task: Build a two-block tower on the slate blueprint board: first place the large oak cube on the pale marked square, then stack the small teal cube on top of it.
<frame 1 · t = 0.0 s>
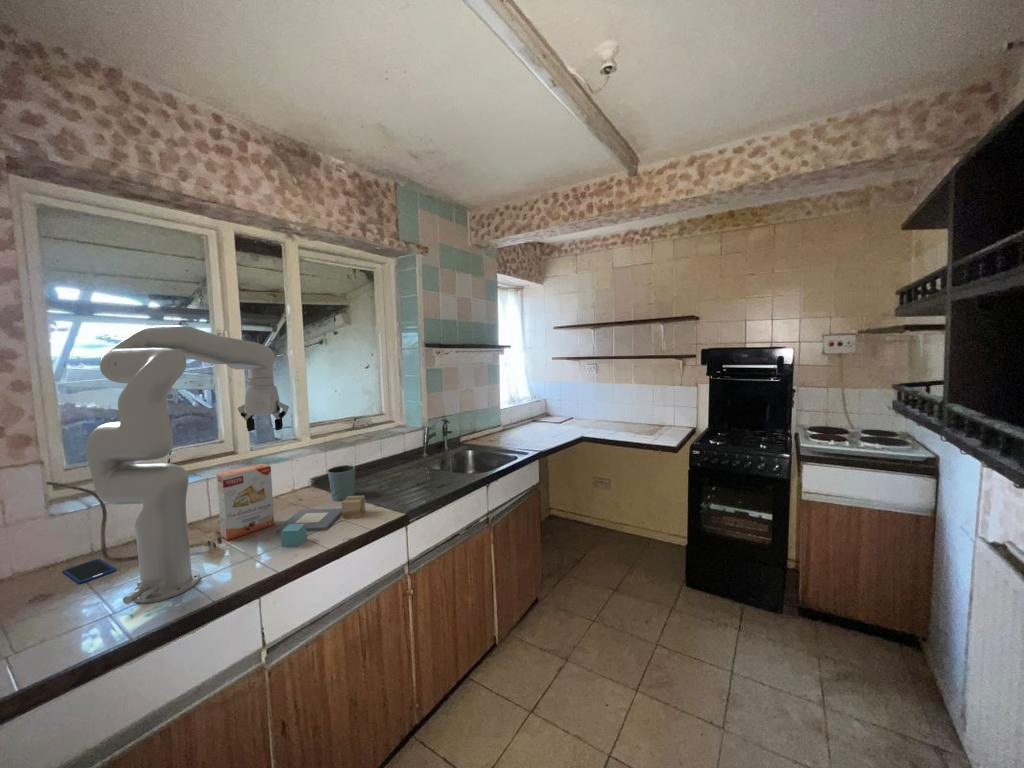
hand: (265, 430, 141), 31 cm above the worktop, tool pointing down, fingers open, 9 cm apart
cracker box: (248, 531, 130), on the worktop
blue cup: (343, 498, 159), on the worktop
cell phone: (89, 573, 107), on the worktop
blueprint board: (312, 520, 137), on the worktop
oak cube: (354, 515, 141), on the worktop
teal cube: (294, 543, 121), on the worktop
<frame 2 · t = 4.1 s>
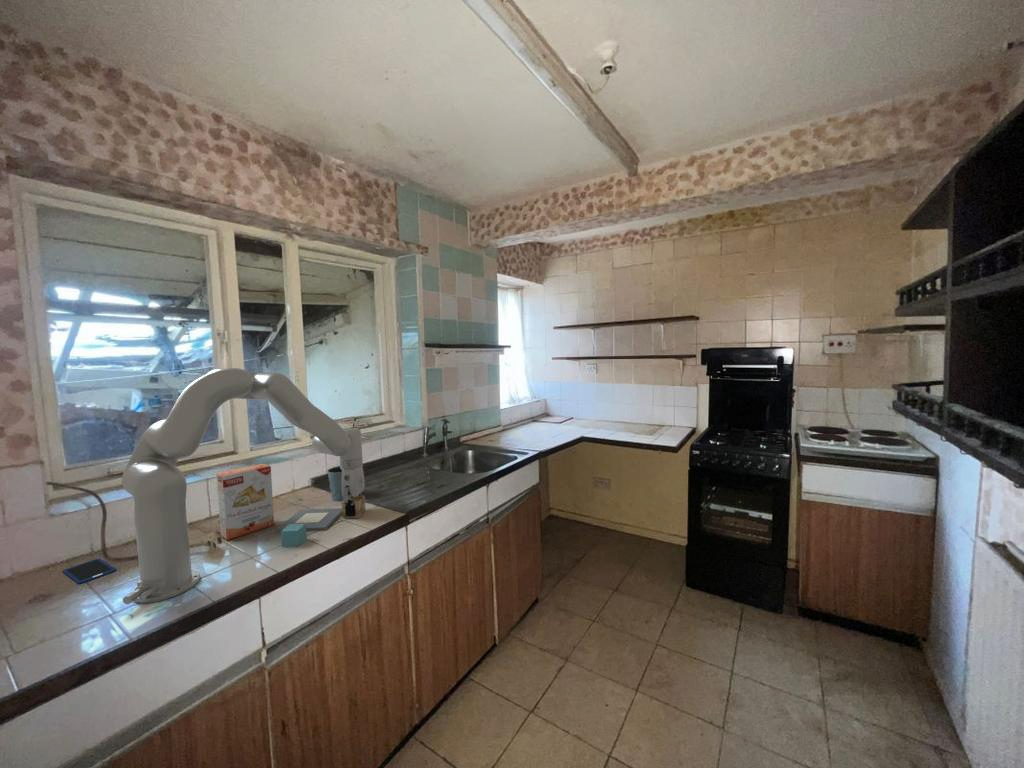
hand: (354, 511, 141), 1 cm above the worktop, tool pointing down, fingers closed on oak cube, 6 cm apart
oak cube: (354, 514, 141), on the worktop, touching gripper
everything else where it was.
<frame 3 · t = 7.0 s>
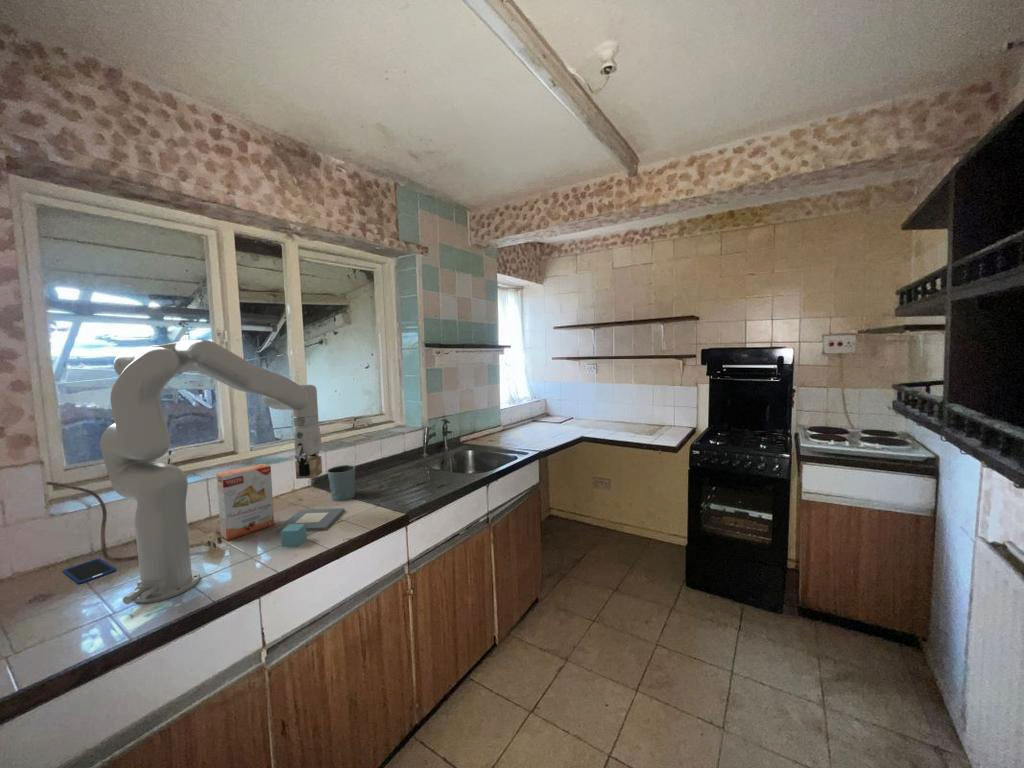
hand: (309, 472, 135), 17 cm above the worktop, tool pointing down, fingers closed on oak cube, 6 cm apart
oak cube: (309, 475, 135), point 16 cm above the worktop, touching gripper
everything else where it was.
when the fingers open (4 cm above the worktop, at t = 10.0 s): oak cube drops 1 cm, resting on blueprint board.
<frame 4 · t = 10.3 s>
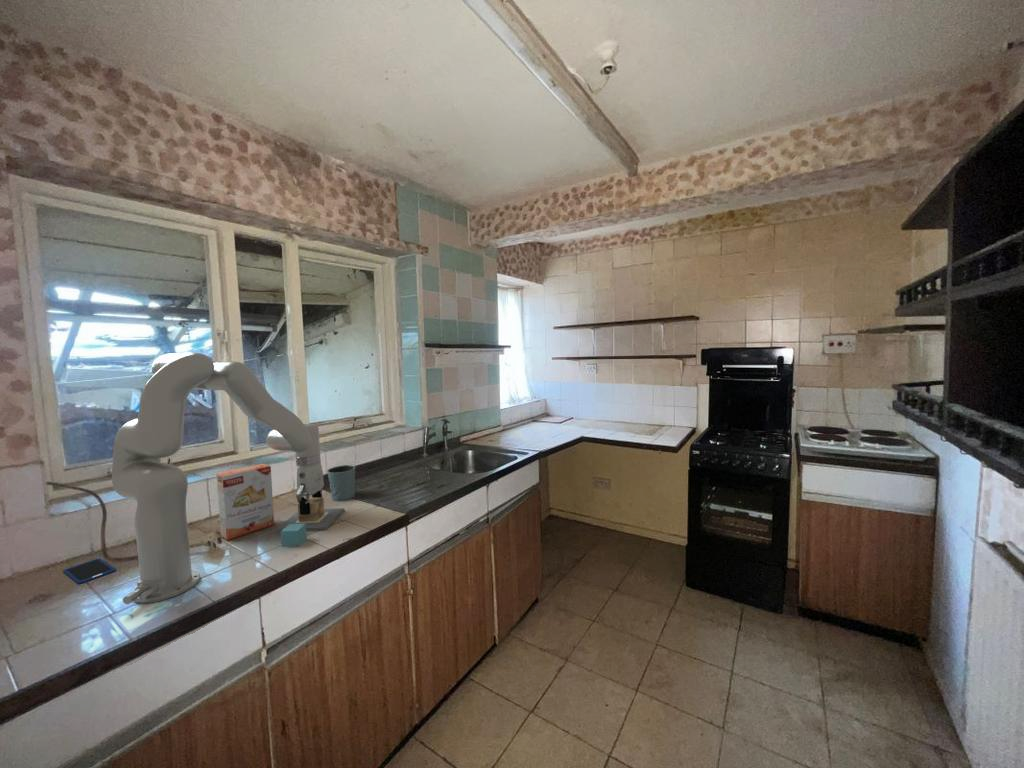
hand: (311, 508, 136), 4 cm above the worktop, tool pointing down, fingers open, 8 cm apart
oak cube: (312, 517, 137), point 1 cm above the worktop, touching blueprint board
everything else where it was.
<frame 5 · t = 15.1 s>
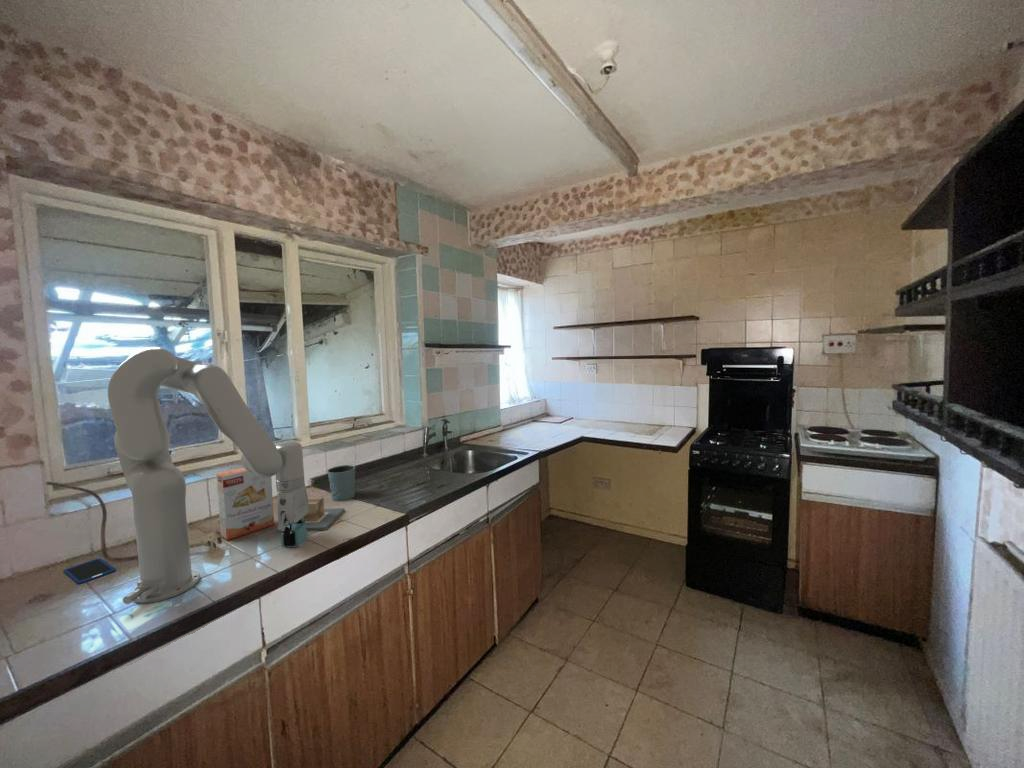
hand: (294, 540, 121), 1 cm above the worktop, tool pointing down, fingers closed on teal cube, 5 cm apart
teal cube: (294, 542, 121), on the worktop, touching gripper
everything else where it was.
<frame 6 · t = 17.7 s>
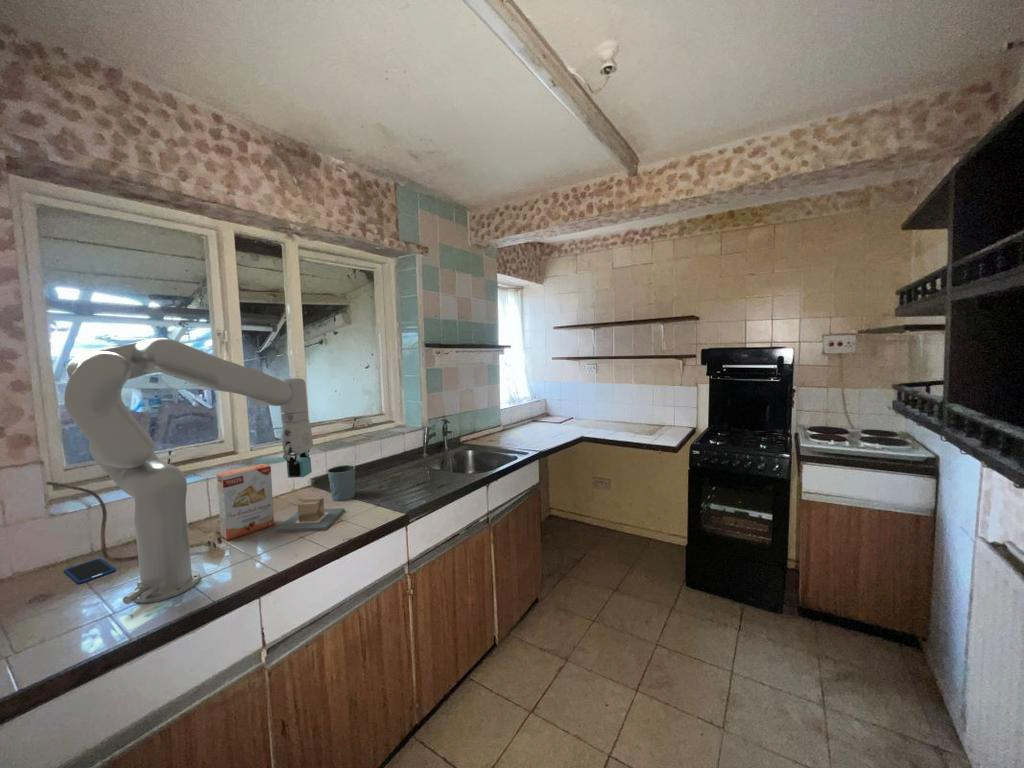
hand: (299, 472, 126), 20 cm above the worktop, tool pointing down, fingers closed on teal cube, 4 cm apart
teal cube: (300, 474, 126), point 19 cm above the worktop, touching gripper
everything else where it was.
when the fingers open (9 cm above the worktop, at t = 20.6 s): teal cube drops 1 cm, resting on oak cube.
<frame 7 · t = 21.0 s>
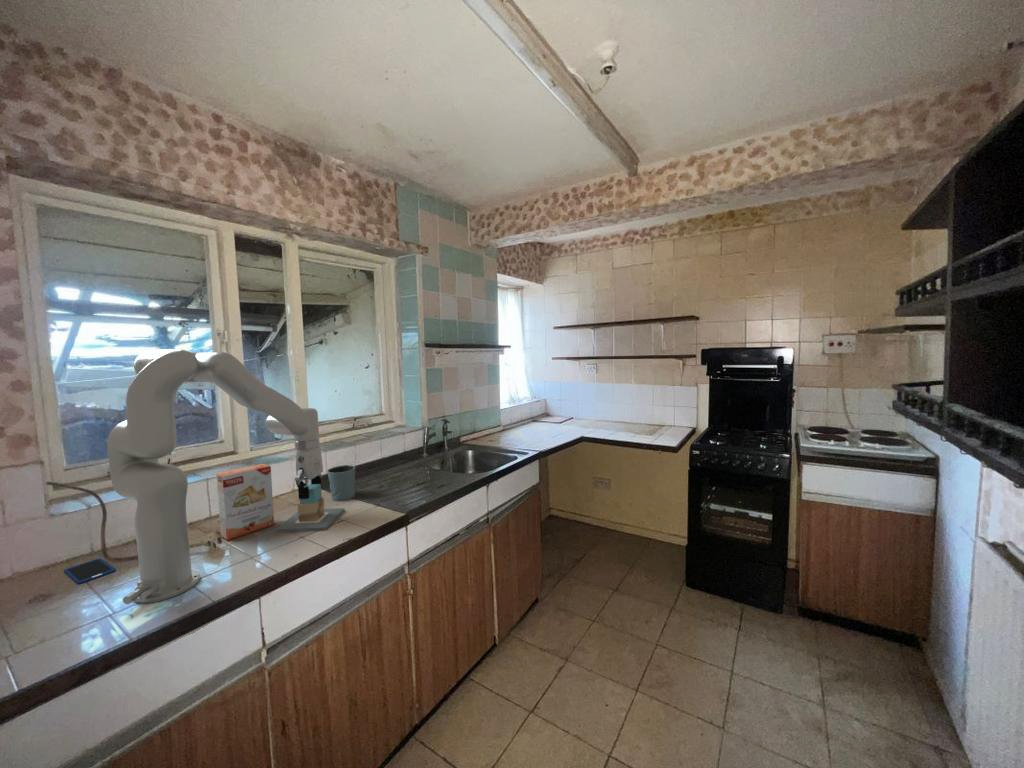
hand: (310, 493, 136), 10 cm above the worktop, tool pointing down, fingers open, 8 cm apart
oak cube: (312, 517, 137), point 1 cm above the worktop, touching blueprint board, teal cube
teal cube: (311, 500, 136), point 7 cm above the worktop, touching oak cube
everything else where it was.
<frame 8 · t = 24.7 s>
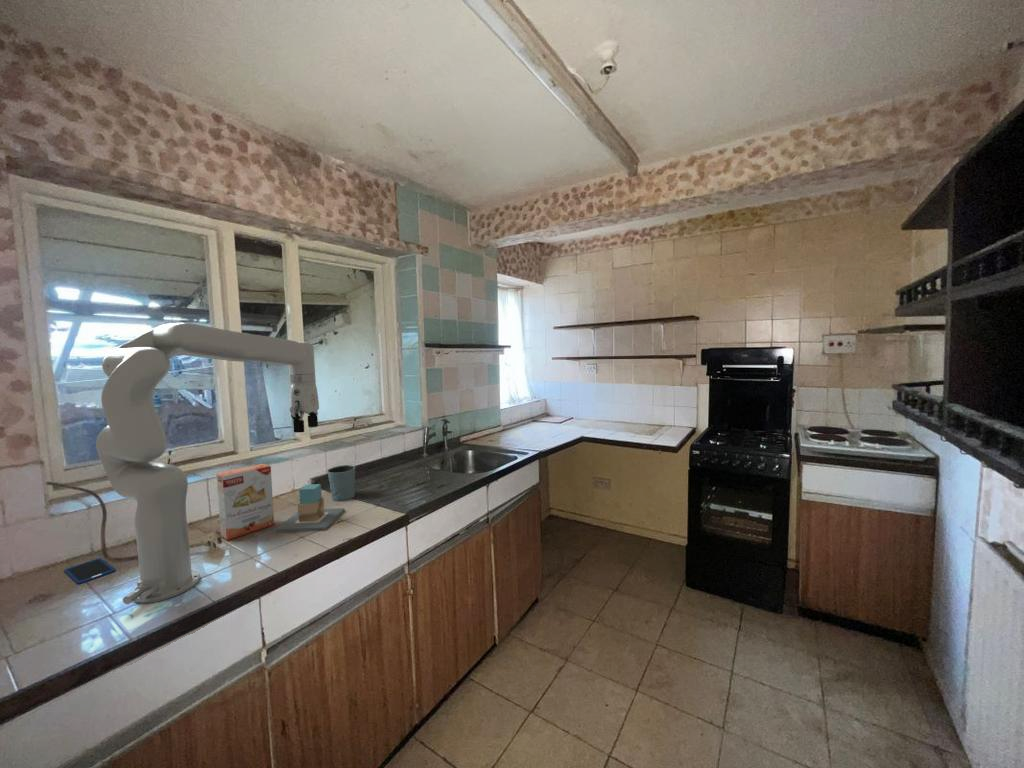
hand: (306, 429, 134), 32 cm above the worktop, tool pointing down, fingers open, 9 cm apart
nothing on the worktop moved.
at the end: oak cube 0.1 cm off-centre on the blueprint board, point 1.2 cm above the blueprint board's base; teal cube 0.1 cm off-centre on the blueprint board, point 7.2 cm above the blueprint board's base; the gripper is holding nothing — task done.
